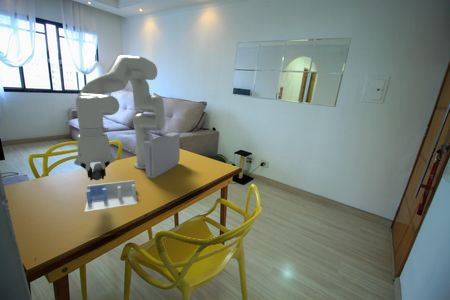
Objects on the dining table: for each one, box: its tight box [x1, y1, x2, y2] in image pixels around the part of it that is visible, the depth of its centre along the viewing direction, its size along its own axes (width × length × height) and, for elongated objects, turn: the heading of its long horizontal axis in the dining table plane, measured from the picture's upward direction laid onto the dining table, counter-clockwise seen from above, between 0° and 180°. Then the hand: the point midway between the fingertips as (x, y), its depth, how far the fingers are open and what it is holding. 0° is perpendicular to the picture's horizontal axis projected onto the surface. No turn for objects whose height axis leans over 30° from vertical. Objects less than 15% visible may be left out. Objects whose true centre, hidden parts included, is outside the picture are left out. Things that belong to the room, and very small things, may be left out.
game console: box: [145, 131, 181, 179], centre depth 126 cm, size 6×27×20 cm, turn 162°
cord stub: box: [92, 162, 102, 181], centre depth 85 cm, size 10×3×3 cm, turn 26°
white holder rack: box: [84, 179, 138, 213], centre depth 93 cm, size 16×19×6 cm
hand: (97, 177), depth 83 cm, fingers closed on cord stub, 3 cm apart
